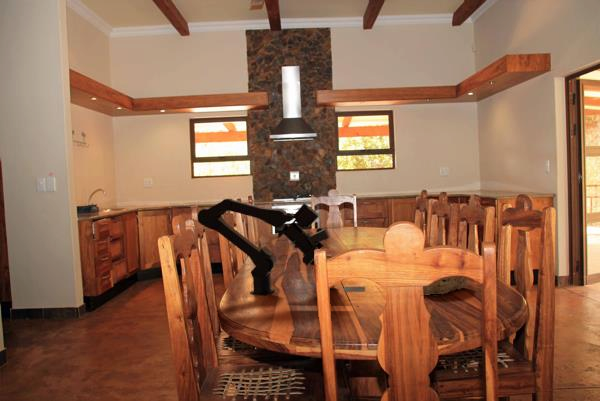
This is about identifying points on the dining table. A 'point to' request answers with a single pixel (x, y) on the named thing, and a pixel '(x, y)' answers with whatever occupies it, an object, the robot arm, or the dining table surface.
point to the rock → (446, 285)
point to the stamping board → (354, 289)
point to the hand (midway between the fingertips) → (331, 269)
